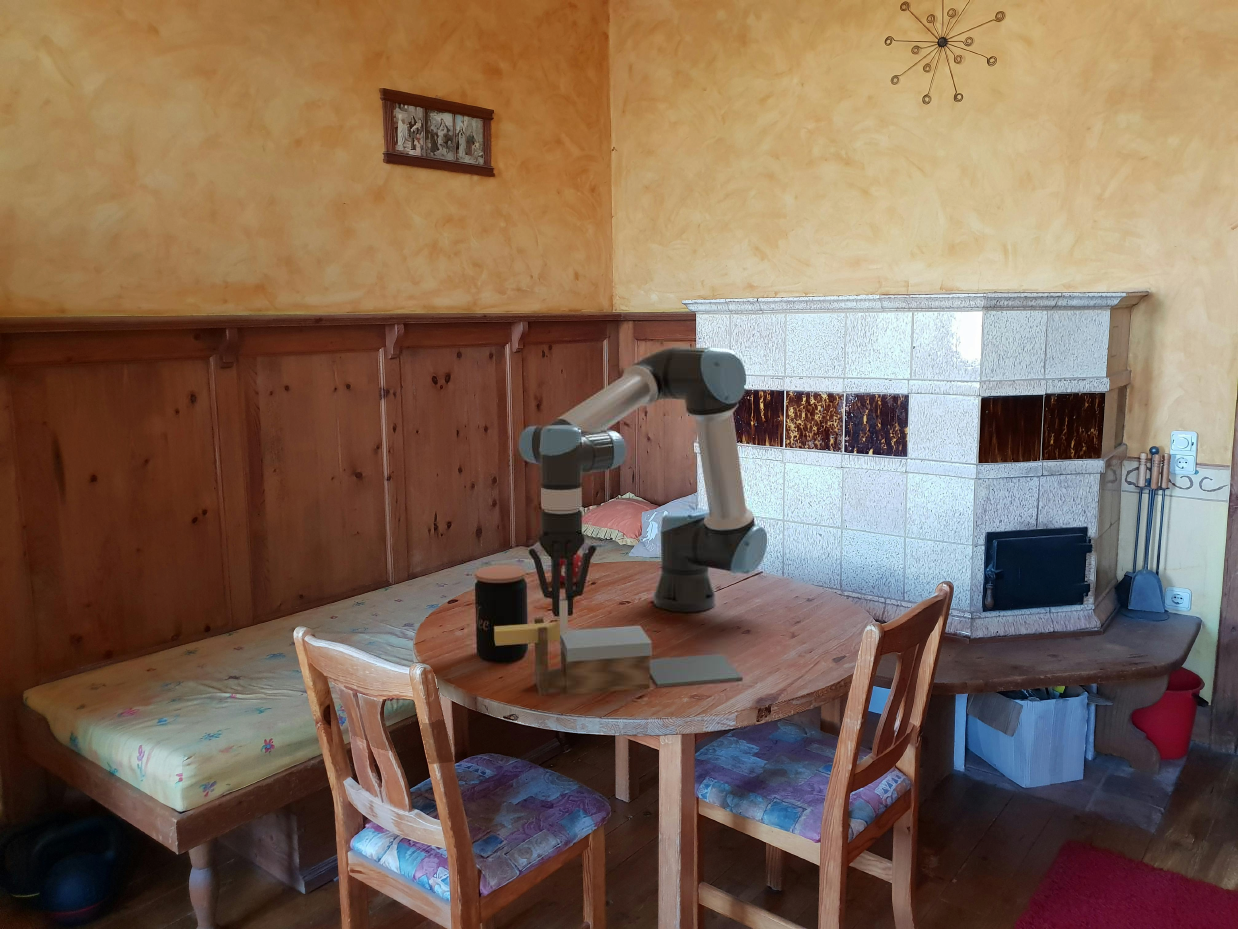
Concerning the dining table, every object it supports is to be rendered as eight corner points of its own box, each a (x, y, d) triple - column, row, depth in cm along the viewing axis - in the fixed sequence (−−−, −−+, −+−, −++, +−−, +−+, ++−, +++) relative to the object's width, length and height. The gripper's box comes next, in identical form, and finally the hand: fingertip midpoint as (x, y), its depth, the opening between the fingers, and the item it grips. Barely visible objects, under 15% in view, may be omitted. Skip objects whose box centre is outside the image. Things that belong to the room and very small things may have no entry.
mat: (721, 656, 193) (721, 654, 193) (742, 680, 181) (742, 677, 181) (642, 663, 190) (642, 660, 190) (657, 687, 177) (657, 684, 177)
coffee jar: (478, 647, 199) (476, 565, 197) (528, 645, 200) (526, 564, 198) (474, 665, 189) (472, 579, 186) (527, 663, 190) (526, 578, 187)
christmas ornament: (590, 580, 251) (590, 544, 249) (577, 589, 243) (577, 551, 241) (561, 577, 254) (561, 541, 252) (548, 585, 246) (547, 548, 244)
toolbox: (641, 674, 184) (641, 610, 182) (649, 687, 177) (649, 621, 175) (535, 682, 180) (534, 617, 178) (539, 696, 173) (538, 629, 171)
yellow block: (557, 635, 177) (557, 622, 177) (560, 641, 174) (560, 627, 174) (494, 640, 175) (494, 626, 174) (495, 645, 172) (495, 631, 171)
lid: (639, 645, 184) (639, 625, 184) (651, 662, 175) (651, 642, 174) (559, 650, 181) (559, 631, 181) (567, 669, 171) (567, 648, 171)
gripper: (592, 504, 177) (593, 623, 180) (524, 507, 174) (526, 628, 178) (599, 511, 170) (600, 636, 173) (528, 515, 167) (530, 641, 170)
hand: (562, 632), depth 175 cm, fingers closed
